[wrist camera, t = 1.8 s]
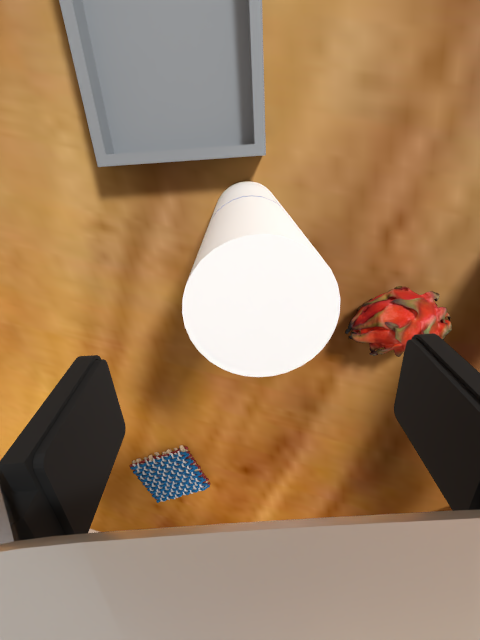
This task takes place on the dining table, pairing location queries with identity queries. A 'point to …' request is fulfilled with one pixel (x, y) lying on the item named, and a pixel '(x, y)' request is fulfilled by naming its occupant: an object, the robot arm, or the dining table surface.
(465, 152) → the dining table surface
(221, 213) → the cylindrical container
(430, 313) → the dragon fruit
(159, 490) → the woven mat
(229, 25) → the tray
